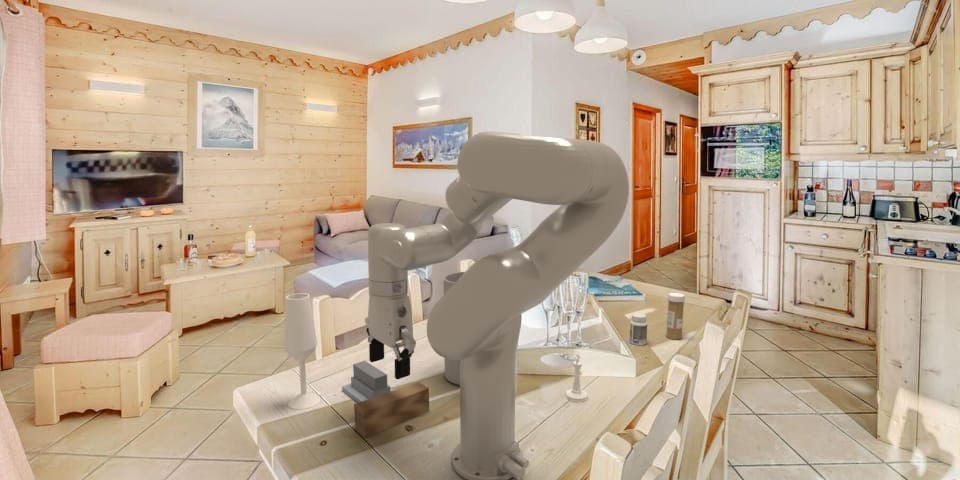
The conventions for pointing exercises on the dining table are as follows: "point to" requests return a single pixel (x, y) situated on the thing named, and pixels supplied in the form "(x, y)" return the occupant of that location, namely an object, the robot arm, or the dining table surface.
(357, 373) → the block
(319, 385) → the dining table surface
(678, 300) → the sprinkles bottle
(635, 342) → the pill bottle
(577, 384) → the chess piece
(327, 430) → the dining table surface
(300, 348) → the champagne flute
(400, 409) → the walnut block
